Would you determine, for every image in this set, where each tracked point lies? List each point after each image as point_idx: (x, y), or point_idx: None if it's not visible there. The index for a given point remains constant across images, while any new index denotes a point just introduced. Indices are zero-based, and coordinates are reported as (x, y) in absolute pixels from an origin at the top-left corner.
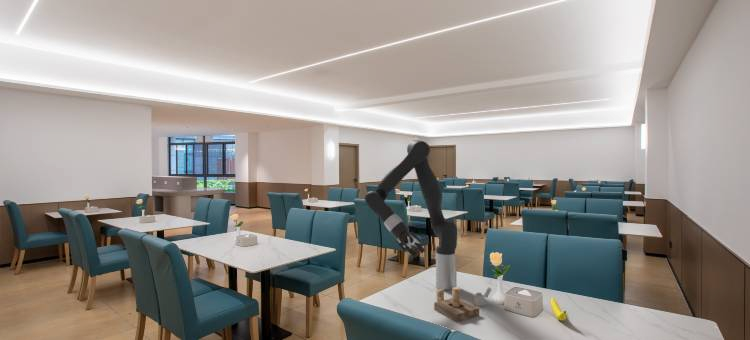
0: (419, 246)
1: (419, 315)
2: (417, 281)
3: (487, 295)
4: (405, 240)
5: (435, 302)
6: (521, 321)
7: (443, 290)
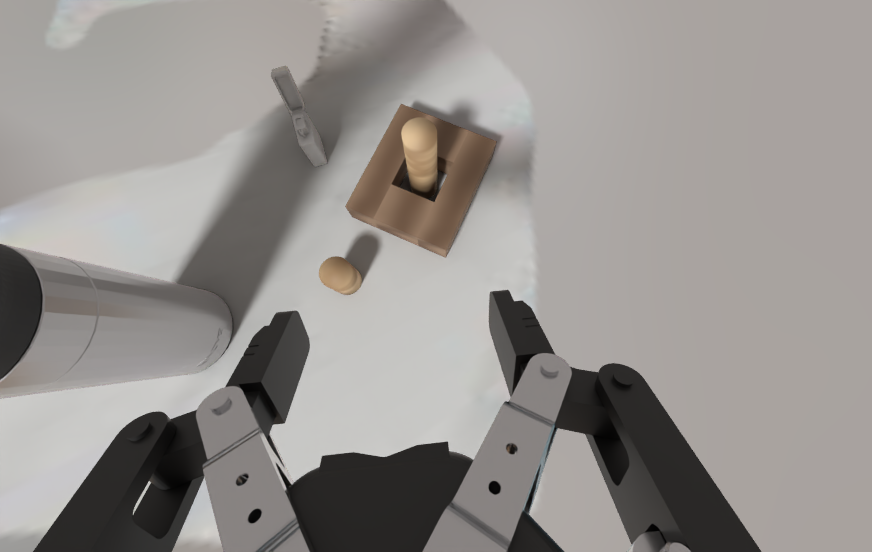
0: (277, 376)
1: (523, 275)
2: None
3: (300, 96)
4: (547, 536)
5: (443, 246)
6: (373, 22)
7: (330, 259)
